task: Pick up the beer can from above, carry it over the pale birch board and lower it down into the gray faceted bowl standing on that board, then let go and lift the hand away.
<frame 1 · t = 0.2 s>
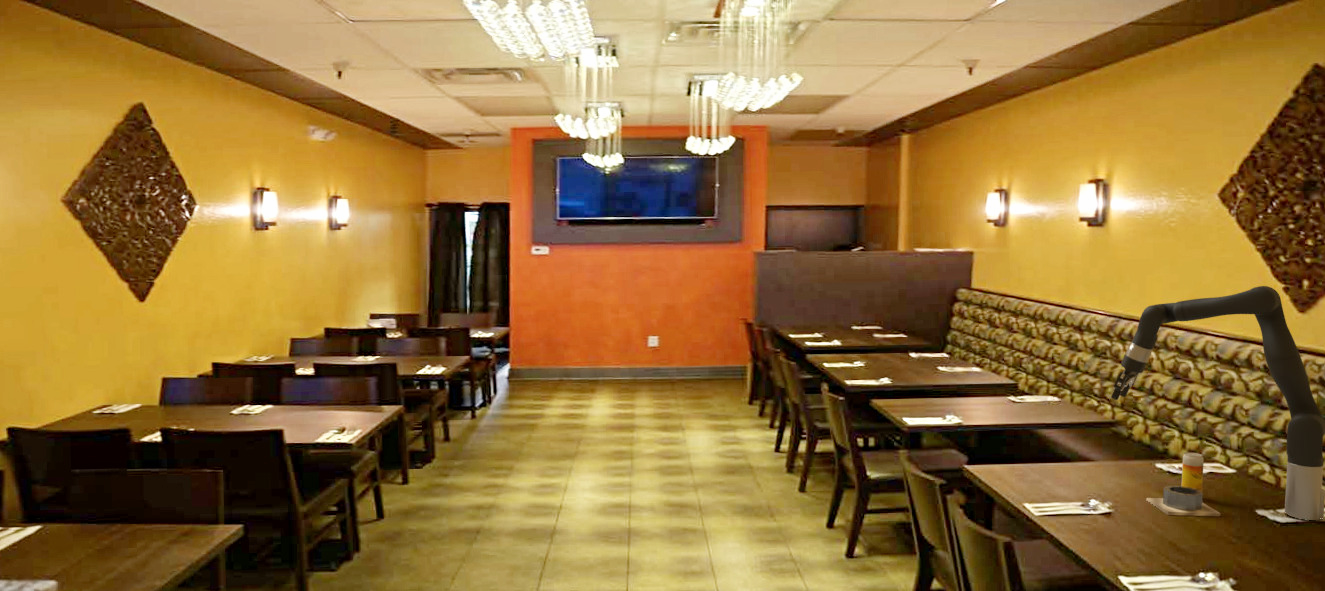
hand: (1118, 397, 319), 31 cm above the table, tool tilted 20°, fingers open, 8 cm apart
birch board: (1182, 508, 290), on the table
gray faceted bowl: (1182, 497, 290), on the birch board, point 4 cm above the table
beer can: (1191, 498, 302), on the table
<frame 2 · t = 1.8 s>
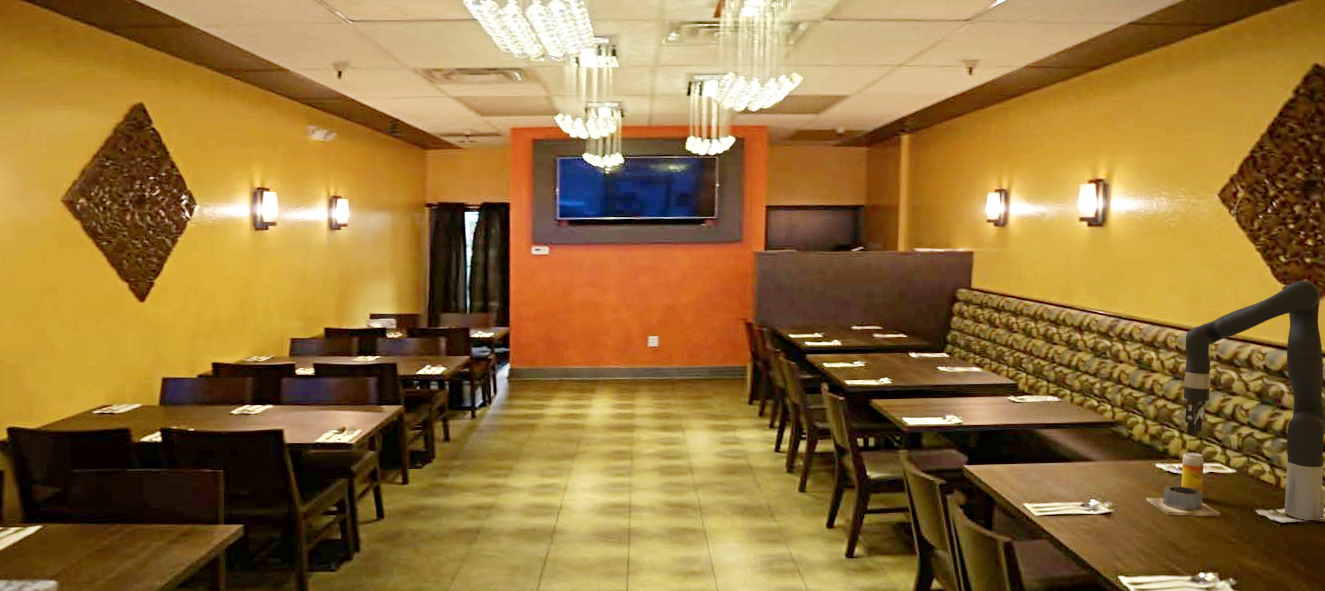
hand: (1194, 432, 300), 22 cm above the table, tool pointing down, fingers open, 8 cm apart
nothing on the table moved.
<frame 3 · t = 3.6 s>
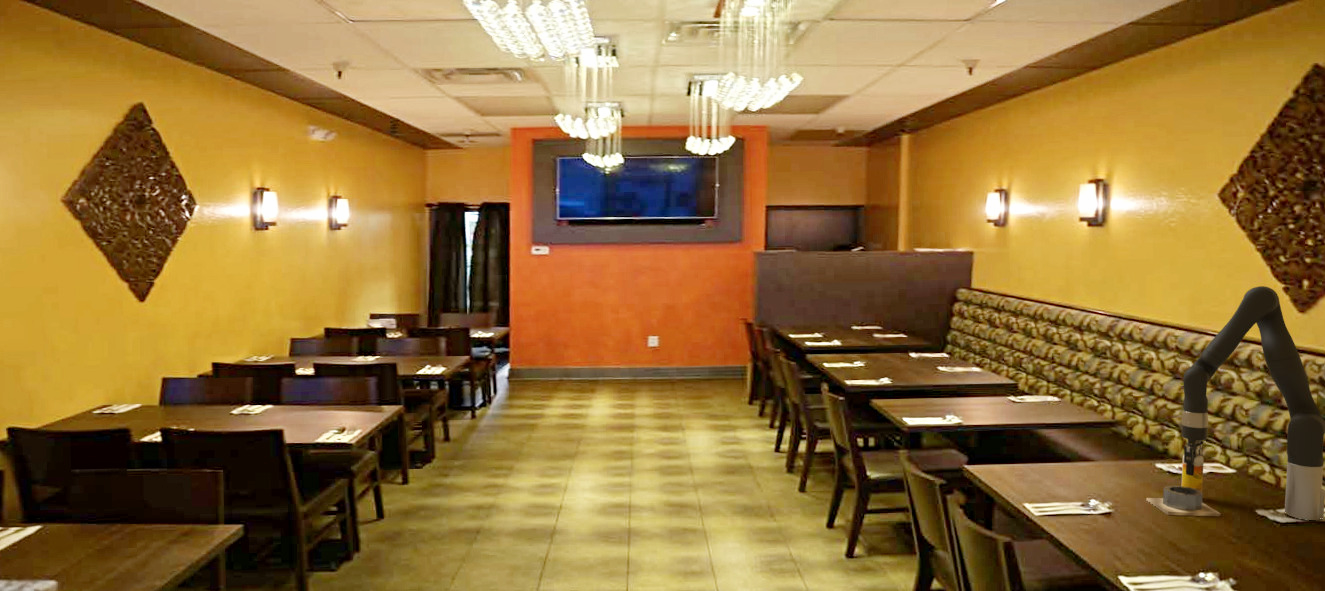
hand: (1192, 472, 302), 9 cm above the table, tool pointing down, fingers closed on beer can, 5 cm apart
beer can: (1191, 498, 302), on the table, touching gripper
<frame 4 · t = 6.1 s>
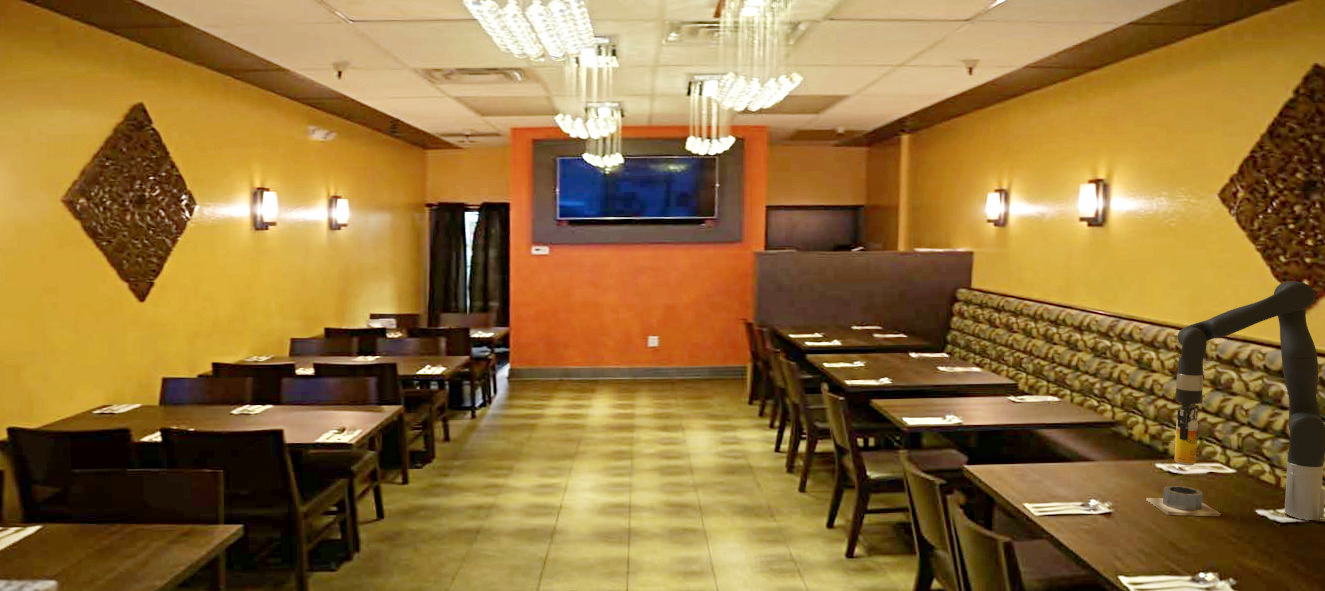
hand: (1186, 438, 292), 23 cm above the table, tool pointing down, fingers closed on beer can, 5 cm apart
beer can: (1185, 464, 292), point 14 cm above the table, touching gripper
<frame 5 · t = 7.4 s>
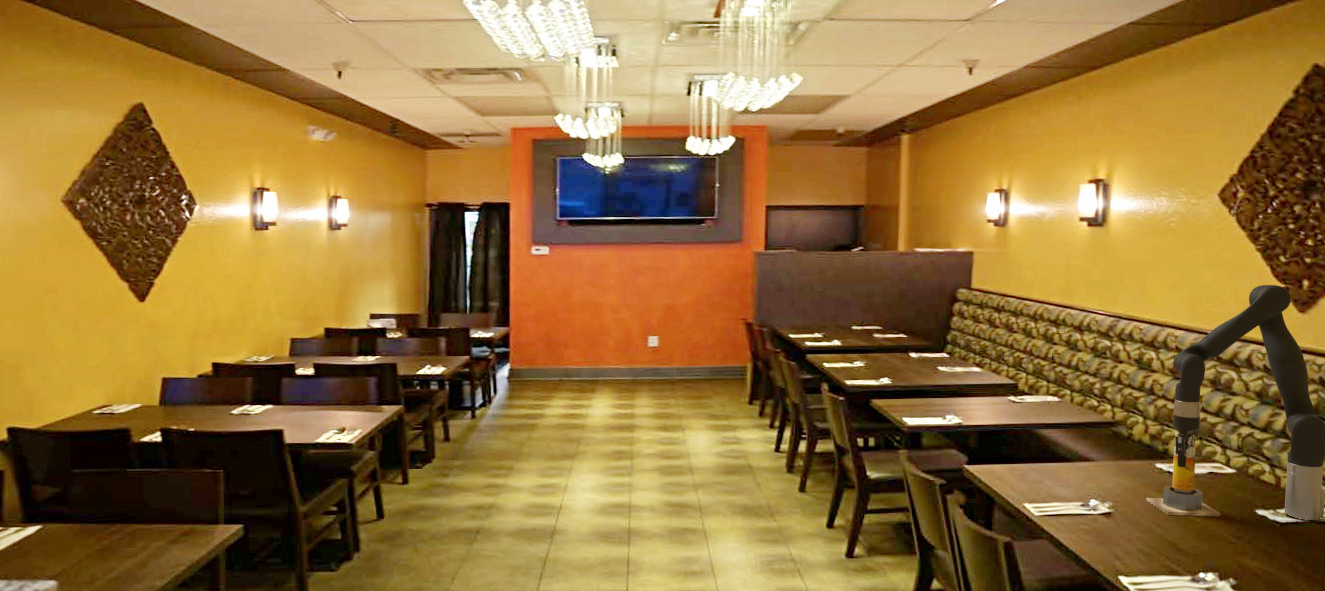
hand: (1184, 464, 289), 15 cm above the table, tool pointing down, fingers closed on beer can, 5 cm apart
beer can: (1182, 491, 290), point 6 cm above the table, touching gripper
when the fingers open (11 cm above the table, at t = 8.7 s): beer can drops 1 cm, resting on birch board.
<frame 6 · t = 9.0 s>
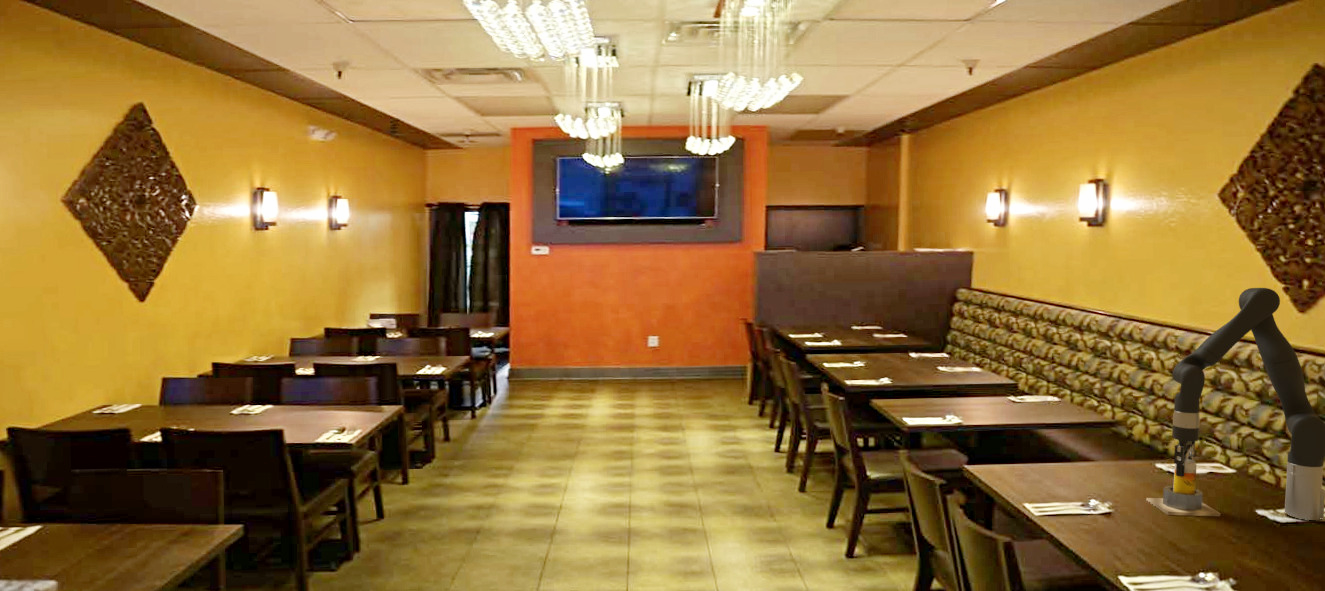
hand: (1183, 473, 290), 12 cm above the table, tool pointing down, fingers open, 8 cm apart
beer can: (1182, 505, 290), point 1 cm above the table, touching birch board
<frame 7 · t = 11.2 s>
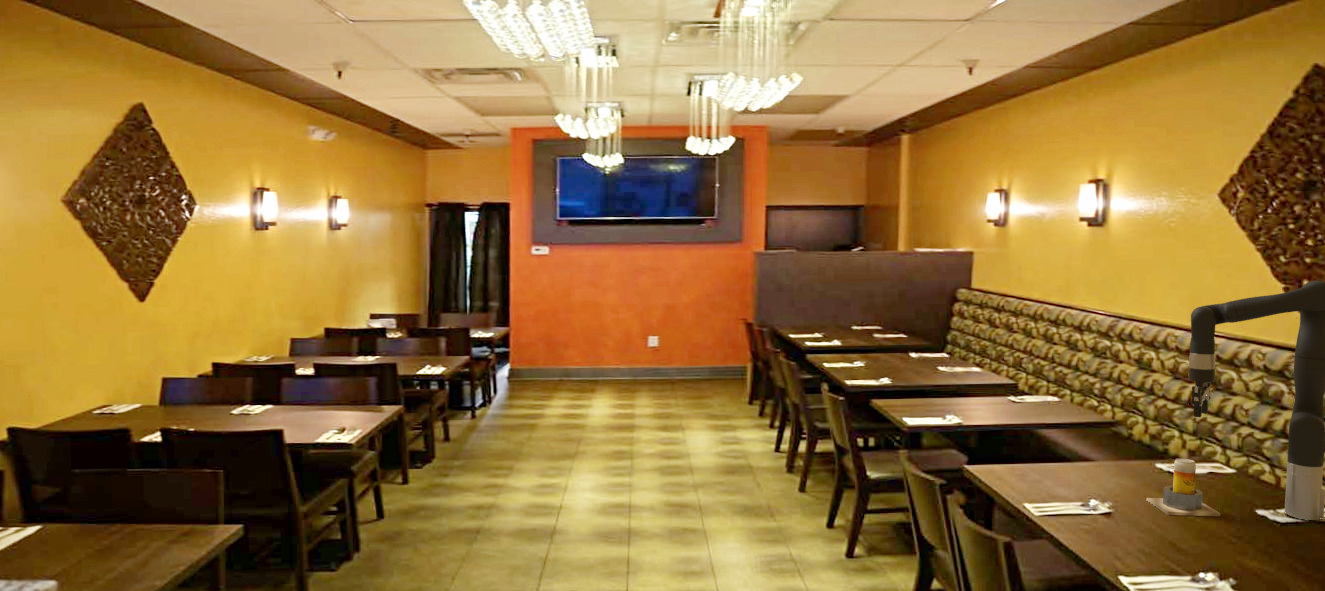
hand: (1200, 415, 294), 30 cm above the table, tool pointing down, fingers open, 8 cm apart
nothing on the table moved.
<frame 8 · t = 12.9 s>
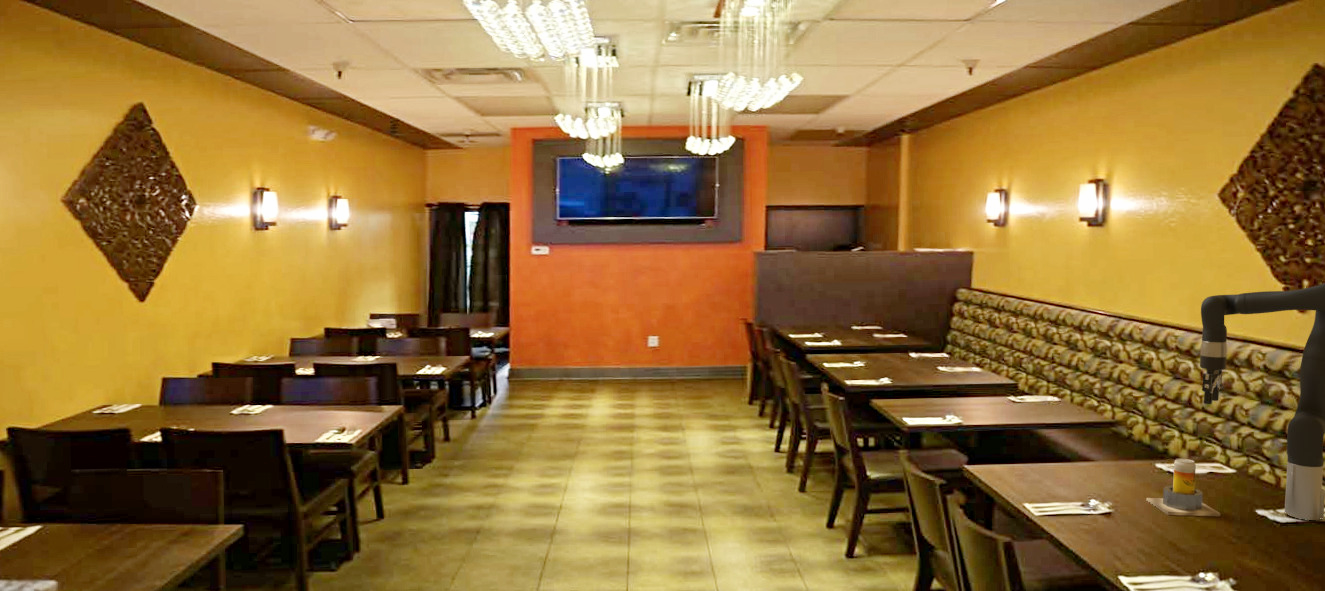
hand: (1211, 402, 299), 33 cm above the table, tool pointing down, fingers open, 8 cm apart
nothing on the table moved.
at the end: beer can 0.1 cm off-centre on the gray faceted bowl, point 0.8 cm above the gray faceted bowl's base; beer can tilted 0°; the gripper is holding nothing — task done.
